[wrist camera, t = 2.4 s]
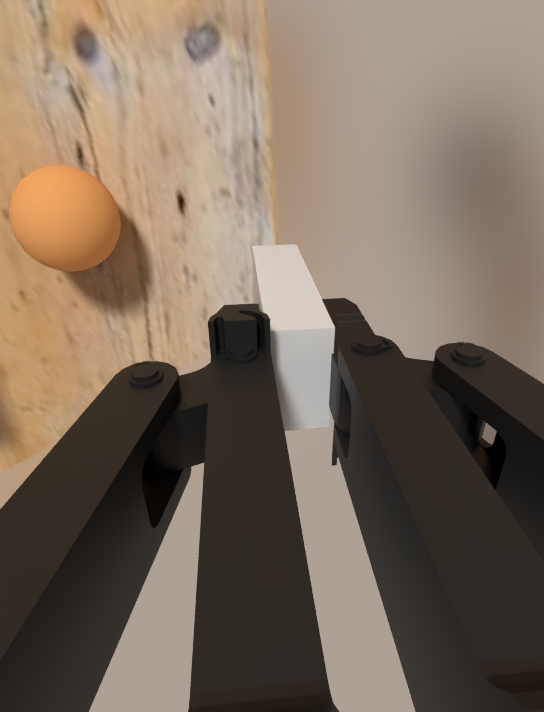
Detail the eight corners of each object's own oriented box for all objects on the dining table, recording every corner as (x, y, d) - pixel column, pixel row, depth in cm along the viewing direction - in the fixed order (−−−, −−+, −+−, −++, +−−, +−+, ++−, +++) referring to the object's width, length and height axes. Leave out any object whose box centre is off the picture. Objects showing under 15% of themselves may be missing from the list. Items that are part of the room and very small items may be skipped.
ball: (45, 256, 28) (9, 288, 24) (19, 160, 26) (-27, 174, 21) (135, 252, 29) (118, 283, 24) (119, 157, 26) (96, 171, 21)
